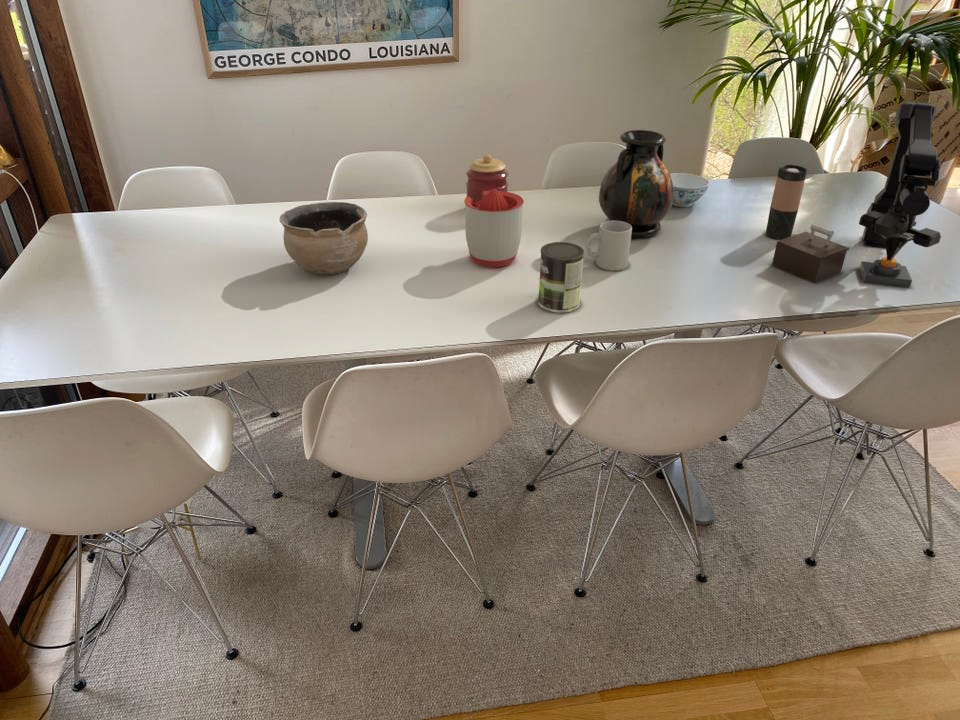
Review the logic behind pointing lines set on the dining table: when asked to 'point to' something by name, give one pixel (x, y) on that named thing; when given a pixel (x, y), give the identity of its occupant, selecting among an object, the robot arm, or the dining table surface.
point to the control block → (885, 274)
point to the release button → (888, 262)
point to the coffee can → (560, 277)
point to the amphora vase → (638, 184)
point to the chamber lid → (814, 243)
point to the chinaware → (688, 188)
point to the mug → (612, 245)
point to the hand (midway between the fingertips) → (889, 259)
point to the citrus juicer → (494, 227)
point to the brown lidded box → (807, 264)
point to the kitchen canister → (485, 177)
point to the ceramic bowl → (325, 236)
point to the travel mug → (785, 201)
